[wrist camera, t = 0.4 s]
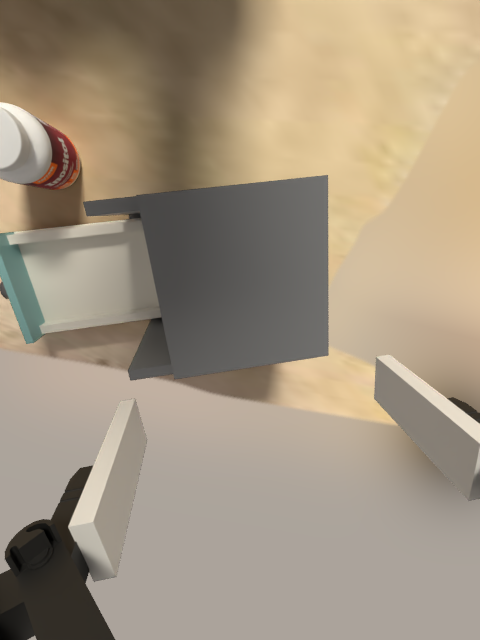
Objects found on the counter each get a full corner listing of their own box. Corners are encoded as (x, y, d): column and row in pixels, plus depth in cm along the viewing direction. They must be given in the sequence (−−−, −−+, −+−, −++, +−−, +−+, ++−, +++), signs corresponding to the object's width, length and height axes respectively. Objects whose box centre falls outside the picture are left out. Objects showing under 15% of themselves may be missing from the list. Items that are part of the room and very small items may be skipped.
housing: (276, 189, 37) (327, 175, 22) (283, 305, 43) (328, 355, 28) (128, 205, 36) (77, 201, 21) (154, 323, 41) (128, 386, 26)
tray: (159, 215, 36) (154, 216, 32) (177, 311, 40) (174, 323, 36) (-1, 233, 34) (-29, 236, 30) (35, 331, 38) (15, 345, 34)
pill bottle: (75, 199, 35) (23, 194, 25) (17, 176, 34) (-64, 160, 23) (88, 143, 33) (38, 112, 23) (27, 116, 32) (-54, 71, 22)
